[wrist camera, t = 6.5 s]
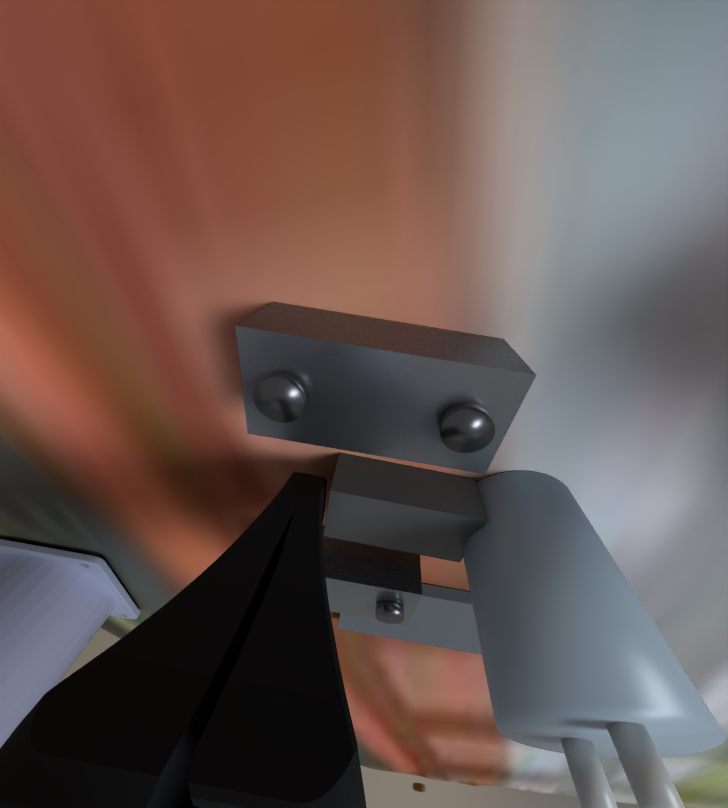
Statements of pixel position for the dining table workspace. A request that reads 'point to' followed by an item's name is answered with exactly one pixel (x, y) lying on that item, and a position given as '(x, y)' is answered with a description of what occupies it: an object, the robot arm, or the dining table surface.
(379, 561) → the channel
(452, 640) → the grey flat plate
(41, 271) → the dining table surface
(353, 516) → the plug
